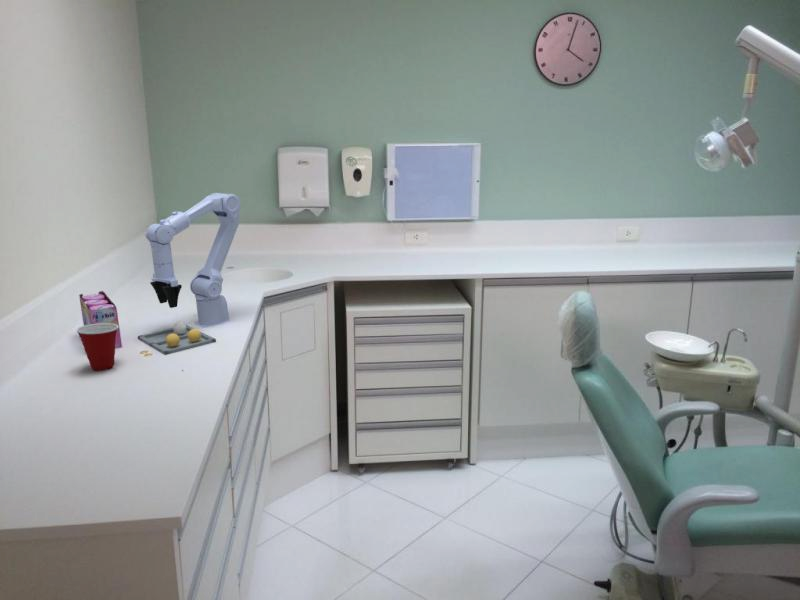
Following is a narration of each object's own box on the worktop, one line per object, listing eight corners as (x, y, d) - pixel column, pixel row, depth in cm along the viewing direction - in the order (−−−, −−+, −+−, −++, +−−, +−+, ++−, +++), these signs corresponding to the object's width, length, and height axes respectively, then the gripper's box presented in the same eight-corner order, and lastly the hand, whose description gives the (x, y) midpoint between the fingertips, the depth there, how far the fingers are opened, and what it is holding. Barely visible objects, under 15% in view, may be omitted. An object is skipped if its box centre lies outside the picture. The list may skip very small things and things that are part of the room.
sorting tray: (186, 328, 224) (186, 324, 224) (216, 343, 209) (215, 339, 208) (138, 340, 214) (137, 336, 214) (165, 356, 199) (164, 352, 198)
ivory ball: (183, 331, 220) (182, 319, 219) (189, 334, 217) (187, 322, 216) (171, 334, 217) (170, 322, 216) (177, 337, 214) (175, 324, 213)
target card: (149, 349, 205) (149, 348, 205) (160, 356, 199) (159, 354, 199) (132, 353, 202) (132, 352, 202) (143, 360, 196) (142, 358, 196)
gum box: (83, 333, 223) (77, 293, 219) (109, 329, 227) (103, 289, 223) (95, 354, 203) (88, 310, 199) (123, 348, 207) (117, 305, 203)
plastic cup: (132, 363, 194) (126, 323, 190) (99, 376, 185) (92, 334, 181) (107, 358, 199) (101, 318, 196) (74, 370, 190) (67, 329, 187)
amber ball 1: (177, 343, 208) (175, 330, 207) (182, 346, 205) (180, 333, 204) (164, 346, 206) (162, 334, 205) (170, 349, 203) (168, 336, 202)
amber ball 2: (198, 338, 212) (196, 326, 211) (204, 341, 209) (202, 329, 208) (186, 341, 210) (184, 329, 208) (191, 344, 207) (190, 332, 206)
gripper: (141, 261, 215) (146, 303, 219) (159, 268, 204) (165, 312, 208) (163, 258, 219) (168, 298, 223) (182, 264, 209) (187, 307, 212)
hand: (168, 304), depth 216 cm, fingers open, 7 cm apart
